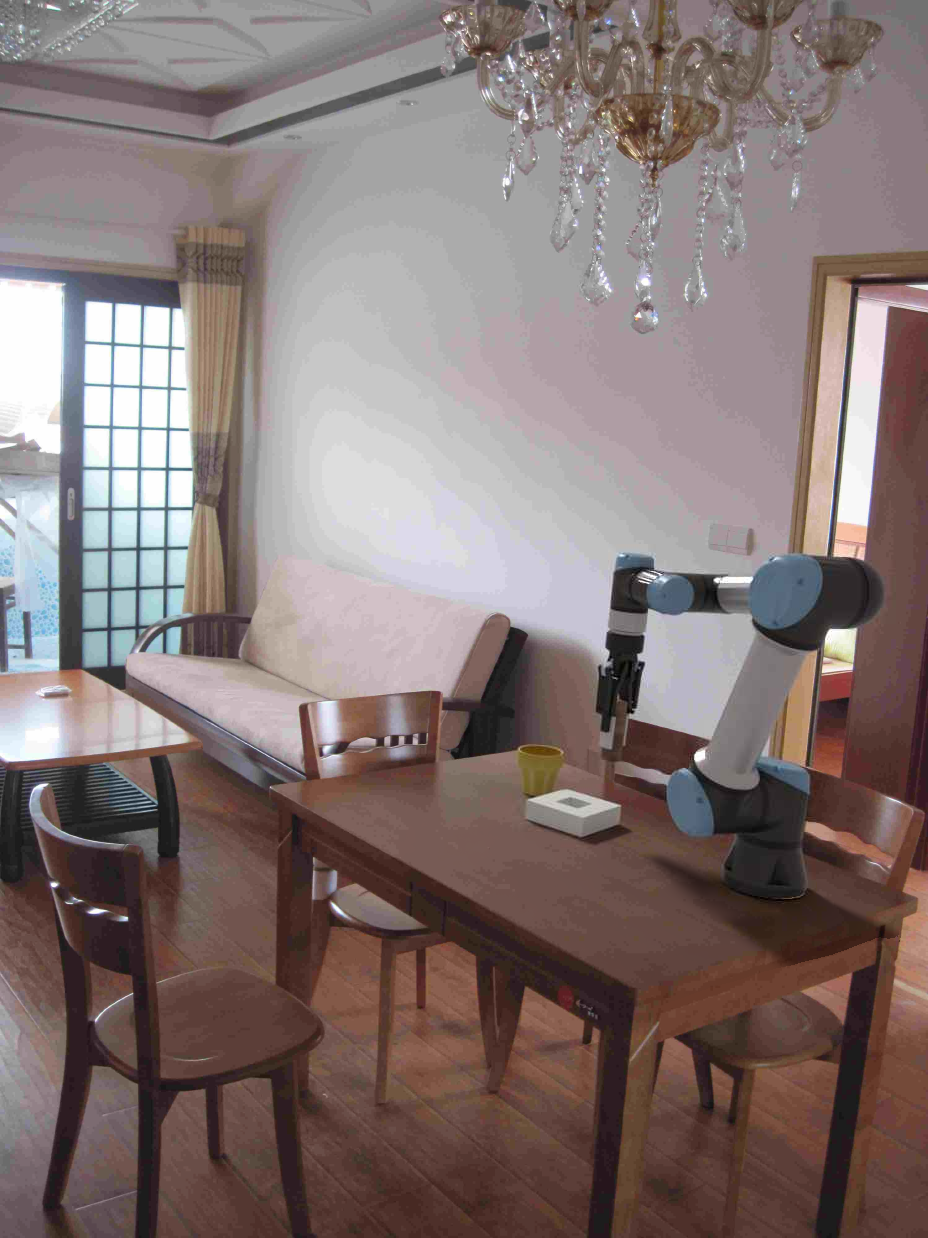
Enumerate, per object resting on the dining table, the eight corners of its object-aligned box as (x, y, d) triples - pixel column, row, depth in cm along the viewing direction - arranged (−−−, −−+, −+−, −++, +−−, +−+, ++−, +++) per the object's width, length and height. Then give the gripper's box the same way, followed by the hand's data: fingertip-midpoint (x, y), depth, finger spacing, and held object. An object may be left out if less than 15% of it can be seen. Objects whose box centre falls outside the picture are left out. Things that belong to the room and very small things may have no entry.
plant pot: (505, 787, 258) (509, 744, 257) (545, 785, 262) (550, 743, 261) (527, 800, 249) (531, 757, 247) (568, 798, 253) (573, 755, 252)
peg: (624, 760, 232) (631, 702, 230) (612, 763, 229) (620, 704, 227) (607, 754, 234) (614, 697, 232) (596, 757, 231) (603, 699, 229)
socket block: (619, 824, 238) (621, 805, 237) (580, 837, 227) (583, 817, 227) (563, 806, 247) (565, 788, 246) (524, 818, 236) (526, 799, 235)
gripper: (633, 625, 236) (620, 735, 240) (585, 630, 223) (571, 747, 227) (665, 632, 231) (650, 744, 235) (617, 638, 218) (603, 756, 222)
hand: (611, 745), depth 231 cm, fingers closed on peg, 4 cm apart
